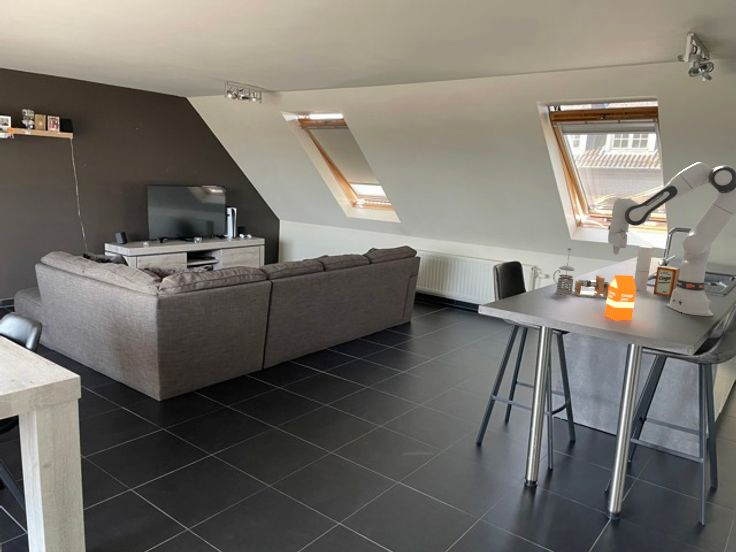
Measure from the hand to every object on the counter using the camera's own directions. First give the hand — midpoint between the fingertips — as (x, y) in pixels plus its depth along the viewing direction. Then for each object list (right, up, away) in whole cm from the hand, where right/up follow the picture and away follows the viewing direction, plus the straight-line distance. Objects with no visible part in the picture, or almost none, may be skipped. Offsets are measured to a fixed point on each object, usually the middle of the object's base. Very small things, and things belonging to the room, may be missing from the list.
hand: (615, 254), depth 290 cm
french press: (-26, -21, +7) cm, 34 cm away
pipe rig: (-10, -22, +6) cm, 25 cm away
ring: (-7, -21, +5) cm, 22 cm away
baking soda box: (+35, -23, +16) cm, 44 cm away
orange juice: (-18, -31, -42) cm, 55 cm away
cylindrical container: (+28, -19, +30) cm, 45 cm away
